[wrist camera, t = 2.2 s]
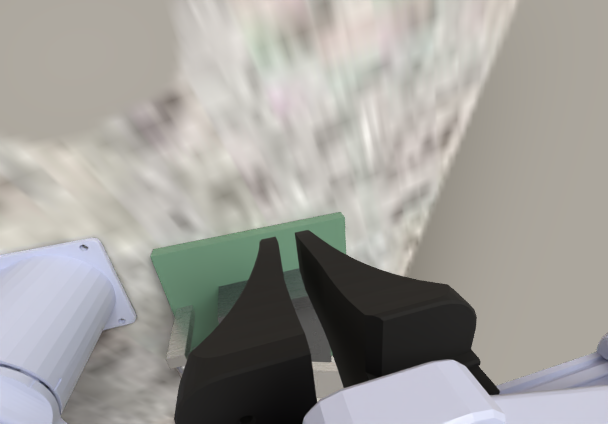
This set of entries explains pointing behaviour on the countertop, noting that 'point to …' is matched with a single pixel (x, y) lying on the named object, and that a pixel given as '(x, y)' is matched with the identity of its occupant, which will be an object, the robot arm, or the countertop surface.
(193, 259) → the board
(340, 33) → the countertop surface
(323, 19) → the countertop surface
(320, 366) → the retention strap
